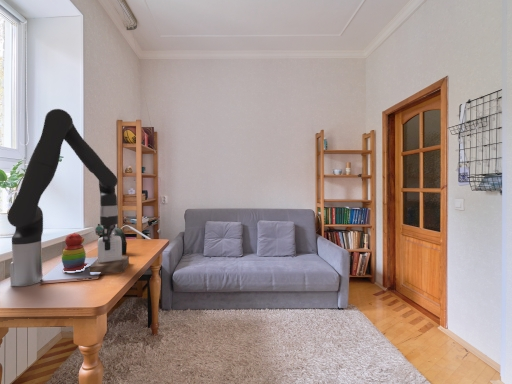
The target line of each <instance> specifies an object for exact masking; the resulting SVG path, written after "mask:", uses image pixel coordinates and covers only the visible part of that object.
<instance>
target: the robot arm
mask: <svg viewBox="0 0 512 384" xmlns="http://www.w3.org/2000/svg"><path fill="white" fill-rule="evenodd" d="M64 141H65V142H66V143H67V145H69V147H70V148H71V149H72V150H73V152H74V154H75V155H76V156H77V157H78V158H79V160H80V162H81V163H82V164H83V165H84V166H85V168H86V169H87V170H88V171H89V172H90V173H92V174H93V175H94V176H95V178H97V180H98V189H99V194H100V197H99V198H100V200H99V201H100V203H99V204H100V206H99V220H100V221H99V224H100V225H102V226H105V229H103V242H104V243H105V250H110V241H111V238H112V236H116V228H117V226H116V225H118V224H119V210H118V198H117V194H116V186H117V185H118V182H119V181H118V178H117V176H116V175H115V173H113V171H112V170H111V169H110V168H109V167H108V166H107V165H106V164H105V163H104V162H103V160H102V159H101V158H100V156H99V155H98V153H97V152H95V150H94V149H93V148H92V147H91V146H90V145H89V144H88V143H87V142H86V141H85V139H84V138H83V137H82V136H81V134H80V133H79V131H78V130H77V128H76V126H75V125H74V122H73V118H72V115H70V114H69V113H68V112H67V111H66V110H64V109H61V108H54V109H50V110H49V111H48V112H46V115H45V118H44V122H43V127H42V131H41V135H40V137H39V140H38V142H37V144H36V146H35V147H34V150H33V152H32V154H31V156H30V159H29V161H28V164H27V166H26V170H25V173H24V175H23V178H22V181H21V185H20V188H19V190H18V191H17V192H18V193H17V194H16V196H15V198H14V200H13V202H12V204H11V206H10V208H9V210H8V211H7V212H8V213H7V221H8V222H9V224H10V225H11V226H12V227H15V231H14V233H13V235H12V237H11V250H12V251H11V252H12V257H11V258H12V261H11V262H10V263H9V278H10V279H9V280H10V287H26V286H27V287H28V286H31V285H35V284H37V283H40V282H41V281H40V280H41V279H42V278H43V277H44V275H43V274H44V273H43V251H42V248H43V247H42V245H43V244H42V237H43V234H44V233H43V231H44V214H43V210H42V208H41V207H40V206H39V202H40V200H41V197H42V195H43V193H44V192H45V191H46V190H47V188H48V187H49V186H50V184H51V182H52V181H53V179H54V177H55V173H56V171H57V169H58V166H59V162H60V158H61V151H62V145H63V142H64ZM115 226H116V227H115ZM106 238H108V239H106ZM43 279H44V278H43Z"/></svg>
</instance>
